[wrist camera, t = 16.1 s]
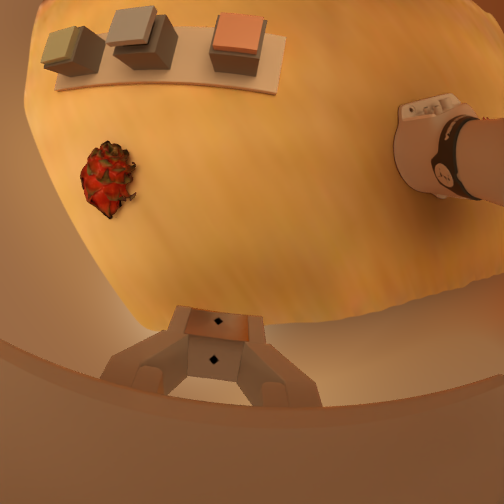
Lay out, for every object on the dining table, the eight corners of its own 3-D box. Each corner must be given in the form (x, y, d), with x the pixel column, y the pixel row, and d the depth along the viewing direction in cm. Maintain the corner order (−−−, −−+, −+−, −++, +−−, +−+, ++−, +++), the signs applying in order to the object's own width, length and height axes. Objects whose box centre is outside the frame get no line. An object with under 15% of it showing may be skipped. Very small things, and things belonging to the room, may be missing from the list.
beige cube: (163, 20, 24) (153, 5, 19) (154, 51, 25) (142, 38, 21) (129, 23, 23) (116, 10, 19) (119, 53, 25) (105, 43, 21)
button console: (284, 40, 32) (296, 14, 23) (275, 95, 36) (285, 78, 27) (71, 43, 29) (43, 28, 20) (58, 91, 32) (26, 84, 23)
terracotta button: (261, 32, 27) (263, 17, 22) (255, 62, 28) (257, 50, 24) (223, 27, 26) (220, 12, 22) (215, 58, 28) (212, 45, 24)
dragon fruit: (128, 135, 38) (128, 204, 44) (78, 141, 33) (82, 212, 39) (141, 139, 32) (141, 221, 38) (80, 146, 27) (86, 232, 33)
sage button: (89, 35, 24) (75, 25, 20) (81, 63, 26) (64, 56, 22) (65, 41, 24) (49, 33, 20) (57, 68, 26) (40, 62, 21)
